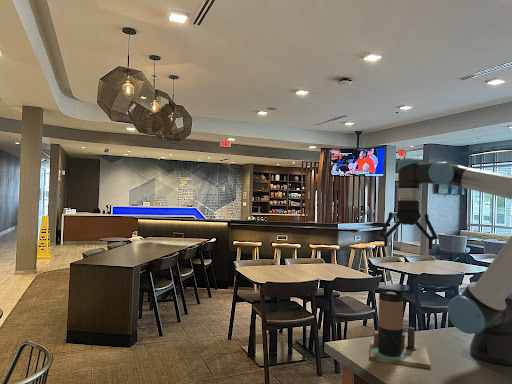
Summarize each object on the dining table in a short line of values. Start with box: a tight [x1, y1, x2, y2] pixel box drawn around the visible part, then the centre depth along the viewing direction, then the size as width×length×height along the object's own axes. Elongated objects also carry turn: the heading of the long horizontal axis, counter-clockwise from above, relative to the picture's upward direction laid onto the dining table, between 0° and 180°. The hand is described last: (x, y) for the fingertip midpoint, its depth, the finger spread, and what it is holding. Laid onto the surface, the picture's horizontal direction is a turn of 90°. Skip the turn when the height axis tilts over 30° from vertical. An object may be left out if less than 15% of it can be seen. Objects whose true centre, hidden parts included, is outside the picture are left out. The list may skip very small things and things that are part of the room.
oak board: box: [369, 326, 432, 370], centre depth 132 cm, size 18×16×8 cm
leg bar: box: [373, 330, 406, 348], centre depth 137 cm, size 10×3×4 cm, turn 69°
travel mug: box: [377, 288, 404, 357], centre depth 131 cm, size 8×8×20 cm
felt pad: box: [372, 347, 407, 360], centre depth 130 cm, size 11×11×1 cm
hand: (407, 256), depth 148 cm, fingers open, 13 cm apart
